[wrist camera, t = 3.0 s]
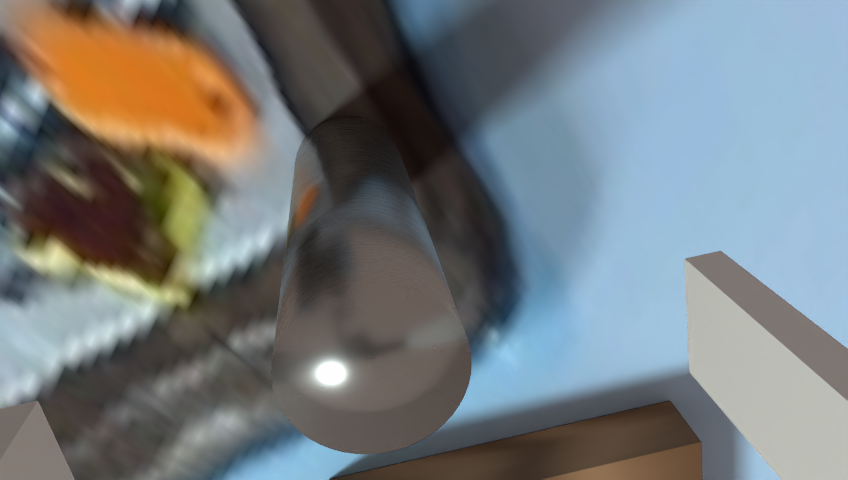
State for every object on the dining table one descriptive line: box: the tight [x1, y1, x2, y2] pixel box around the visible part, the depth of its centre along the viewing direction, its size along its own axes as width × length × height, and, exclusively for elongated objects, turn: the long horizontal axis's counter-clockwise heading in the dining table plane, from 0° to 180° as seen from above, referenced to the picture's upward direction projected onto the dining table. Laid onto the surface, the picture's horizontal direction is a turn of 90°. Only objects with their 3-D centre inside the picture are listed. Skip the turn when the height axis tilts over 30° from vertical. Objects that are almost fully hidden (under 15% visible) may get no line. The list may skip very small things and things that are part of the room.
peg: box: [271, 116, 471, 454], centre depth 21 cm, size 4×4×14 cm
